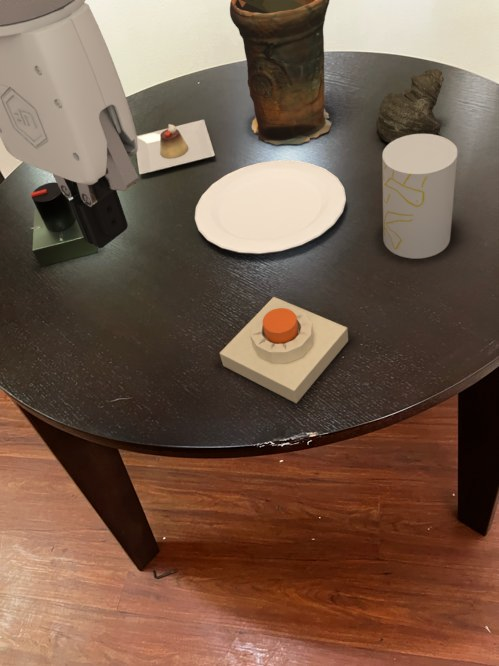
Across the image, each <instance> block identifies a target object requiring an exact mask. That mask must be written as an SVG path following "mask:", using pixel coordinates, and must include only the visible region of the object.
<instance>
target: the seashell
mask: <svg viewBox="0 0 499 666" xmlns="http://www.w3.org/2000/svg"><path fill="white" fill-rule="evenodd" d="M410 80H411V85H410V88H409V89H408V90H404V92H401V93H391V92H390V93H387V95H386V96H385V97H384V98H383V99H382V101H381V104H380V106H379V111H378V117H377V119H376V122H375V126H376V128H377V132H378V135H379V137H380V139H382V140H383V141H384V142H386V143H388V144H389V143H391V142H392V141H394V140H396V139H398V138H401V137H404V136H407V135H413V134H433V135H437V134H438V133H439V132H440V131H441V129H442V125H441V124H440V123H439V121H438V120H437V119H436V117H435V114H434V111H433V110H434V108H435V106H436V105H437V101H438V98H439V95H440V93H441V90H442V86H443V82H444V77H443V72H442V71H441V69H438V68H437V69H427V70H425V71H424V72H423V73H422V74H420V75H419V74H417V75H413V76H411V77H410Z"/></svg>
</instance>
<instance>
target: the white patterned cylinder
mask: <svg viewBox="0 0 499 666" xmlns="http://www.w3.org/2000/svg"><path fill="white" fill-rule="evenodd" d="M457 162H458V148H457V146H456V145H455V143H453V141H451V140H450V139H448V138H446V137H443V136H442V135H437V134H434V135H433V134H413V135H407V136H404V137H401V138H398V139H396V140H394V141H392V142H391V143H388V144H387V145H386V146H385V148H384V149H383V151H382V164H381V165H382V166H381V167H382V242H383V245H384V246H385V247H386V248H387V250H389V251H390V253H392V254H394V255H397V256H399V257H401V258H407V259H417V260H418V259H426V258H431V257H433V256H436V255H438V254H440V253H441V252H443V251H444V250H445V249H446V248H447V247H448V246H449V244H450V243H451V233H452V223H453V222H452V221H453V209H454V199H455V186H456V175H457Z"/></svg>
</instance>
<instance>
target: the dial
mask: <svg viewBox="0 0 499 666" xmlns="http://www.w3.org/2000/svg"><path fill="white" fill-rule="evenodd" d="M30 197H31V199H32V201H33V203H34V206H35V207H36V208H35V209H37V210H38V212H39V214H40V216H41V218H42V220H43V222H44V224H45V226H46V228H47V229H48V230H50V231H60V230H64V229H66V228H68V227H70V226H71V225H72V224H73V223H74V222H75V220H76V217H75V215H74V212H73V210H72V207H71V205H70V202H69V200H70V198H67V197H66V196H65V195H64V194H63V193H62V192H61V190H60V188H59V186H58V184H57V182H56V181H54V182H53V181H51V182H47V183H44V184H41V185H40V186H38V187H37V188H35V189H34V190H33V191H32V192H30Z"/></svg>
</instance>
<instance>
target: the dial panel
mask: <svg viewBox="0 0 499 666" xmlns="http://www.w3.org/2000/svg"><path fill="white" fill-rule="evenodd" d="M70 200H71V199H69V201H70ZM33 212H34V213H33V227H30V231H32V253H33V255H34V257H35V259H36V260H37V262H38V264H39V267H40V268H42V267H47V266H51V265H55V264H59V263H61V262H65V261H69V260H73V259H77V258H81V257H85V256H88V255H93V254H96V253H98V247H97V246H95V245H94V244H90V243H88V242H86V241H85V240H84V237H83V235H82V232H81V230H80V227H79V225H78V222H77V220H75V222H74V223H73V224H72V225H71V226H70V227H68V228H66V229H64V230H60V231H50V230H48V229H47V228H46V226H45V224H44V222H43V220H42V218H41V216H40V214H39V212H38V210H37V208H34V209H33Z"/></svg>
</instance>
